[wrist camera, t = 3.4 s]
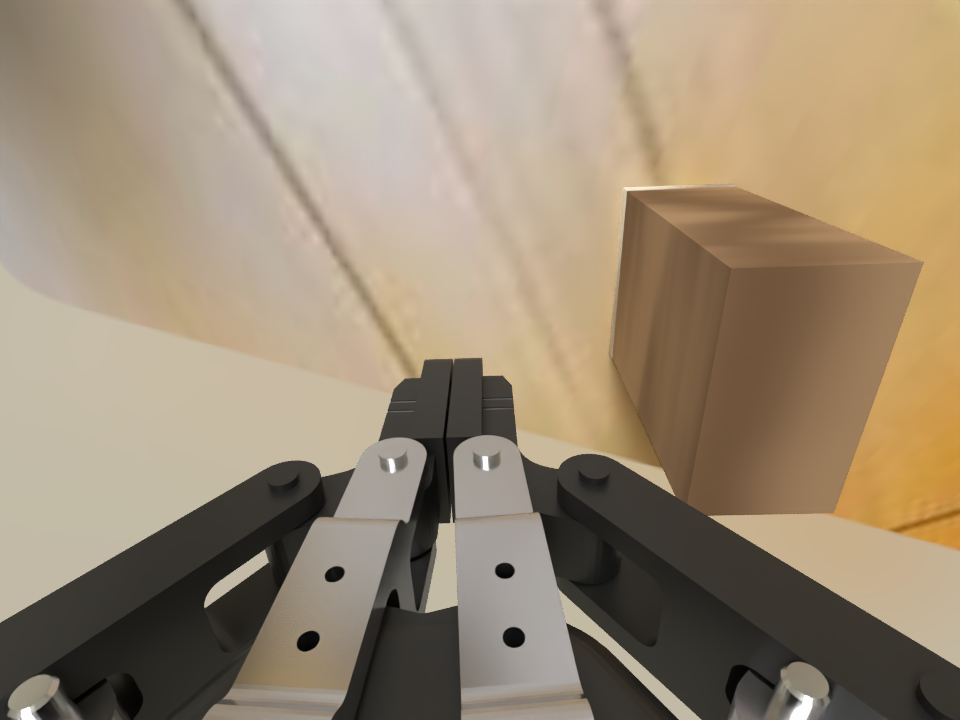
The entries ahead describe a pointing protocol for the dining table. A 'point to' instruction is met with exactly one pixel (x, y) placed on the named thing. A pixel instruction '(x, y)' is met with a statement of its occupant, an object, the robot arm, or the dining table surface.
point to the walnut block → (751, 343)
